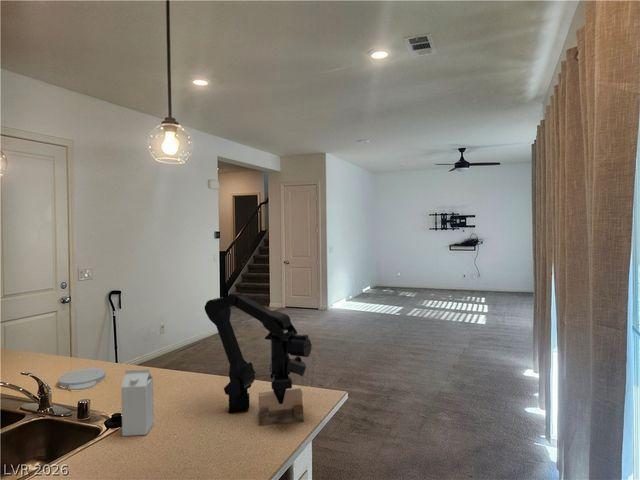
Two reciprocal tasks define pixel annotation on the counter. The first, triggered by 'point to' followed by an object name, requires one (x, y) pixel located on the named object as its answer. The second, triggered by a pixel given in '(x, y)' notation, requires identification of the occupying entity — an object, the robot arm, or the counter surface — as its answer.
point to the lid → (82, 378)
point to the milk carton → (137, 402)
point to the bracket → (281, 415)
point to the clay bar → (290, 400)
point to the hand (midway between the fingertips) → (280, 400)
